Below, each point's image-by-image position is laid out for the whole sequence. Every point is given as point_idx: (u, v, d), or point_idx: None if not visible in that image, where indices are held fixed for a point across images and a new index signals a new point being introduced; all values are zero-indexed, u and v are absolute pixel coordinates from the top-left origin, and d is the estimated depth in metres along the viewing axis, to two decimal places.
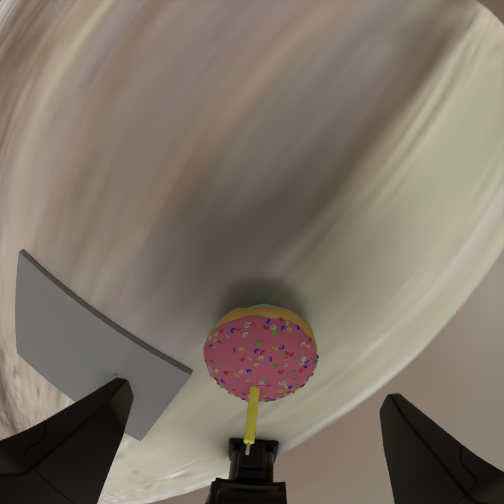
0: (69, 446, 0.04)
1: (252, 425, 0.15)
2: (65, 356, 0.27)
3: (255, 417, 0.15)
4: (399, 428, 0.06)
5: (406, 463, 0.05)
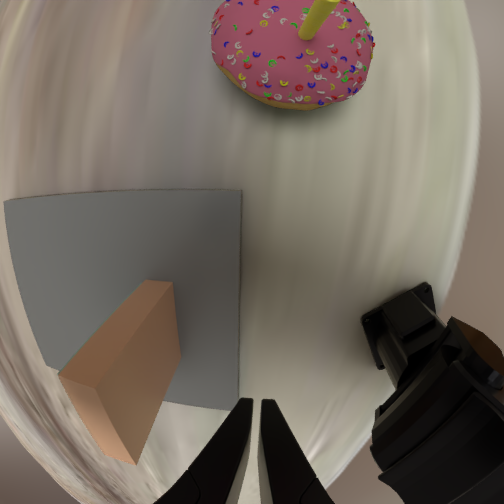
0: (232, 492, 0.04)
1: None
2: (82, 310, 0.21)
3: None
4: (260, 438, 0.06)
5: (261, 478, 0.05)
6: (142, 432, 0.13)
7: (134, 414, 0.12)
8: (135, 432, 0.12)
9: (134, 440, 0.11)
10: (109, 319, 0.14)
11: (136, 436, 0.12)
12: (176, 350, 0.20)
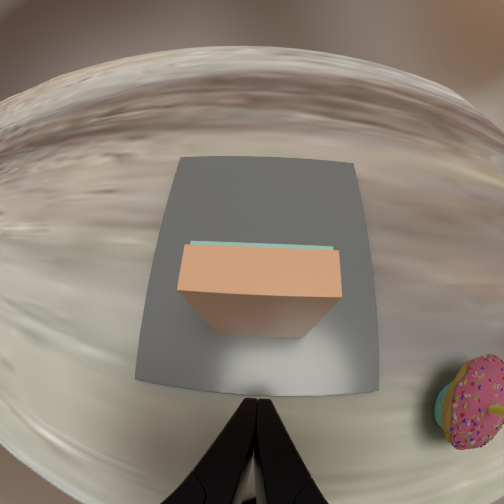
0: (237, 492, 0.04)
1: None
2: (261, 232, 0.25)
3: None
4: (255, 438, 0.06)
5: (256, 478, 0.05)
6: (208, 304, 0.13)
7: (247, 306, 0.13)
8: (223, 302, 0.13)
9: (216, 299, 0.12)
10: None
11: (216, 301, 0.13)
12: (232, 333, 0.20)
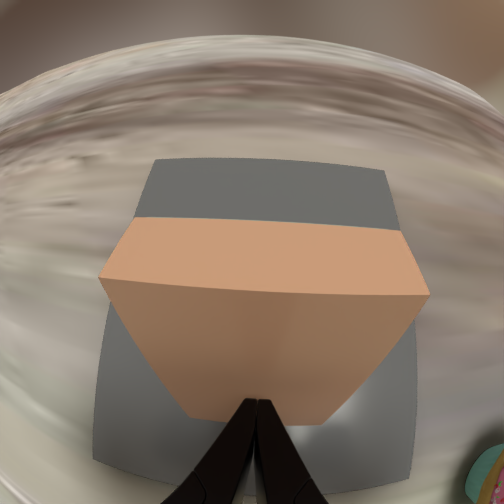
0: (237, 492, 0.04)
1: None
2: None
3: None
4: (255, 438, 0.06)
5: (256, 478, 0.05)
6: (162, 336, 0.06)
7: (237, 343, 0.06)
8: (189, 326, 0.06)
9: (174, 314, 0.06)
10: None
11: (176, 323, 0.06)
12: (214, 417, 0.12)
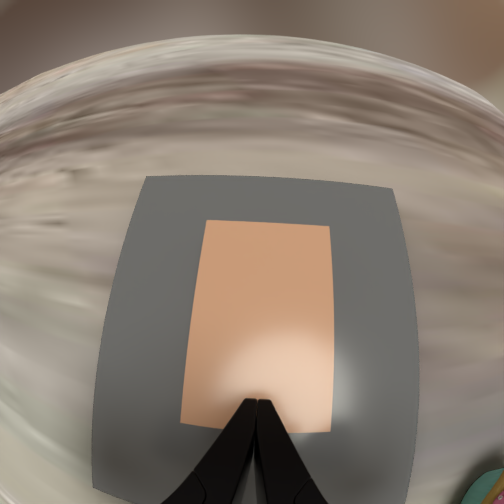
0: (237, 492, 0.04)
1: None
2: None
3: None
4: (255, 438, 0.06)
5: (256, 478, 0.05)
6: (219, 252, 0.15)
7: (255, 253, 0.15)
8: (236, 243, 0.15)
9: (231, 236, 0.15)
10: None
11: (230, 241, 0.15)
12: (211, 410, 0.11)
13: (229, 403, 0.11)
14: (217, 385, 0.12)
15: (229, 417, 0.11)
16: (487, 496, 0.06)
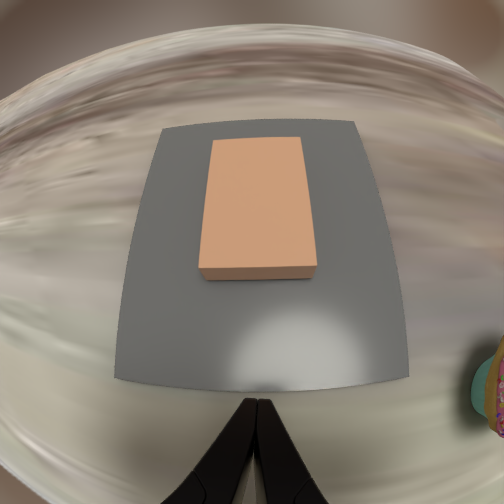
0: (237, 492, 0.04)
1: None
2: None
3: None
4: (255, 438, 0.06)
5: (256, 478, 0.05)
6: (223, 156, 0.20)
7: (248, 154, 0.20)
8: (235, 150, 0.20)
9: (231, 147, 0.20)
10: None
11: (231, 150, 0.20)
12: (222, 254, 0.17)
13: (236, 246, 0.17)
14: (226, 235, 0.17)
15: (236, 257, 0.16)
16: (492, 363, 0.11)
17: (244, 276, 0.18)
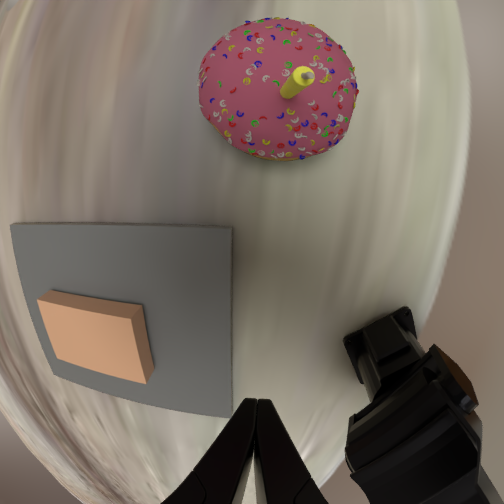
0: (237, 492, 0.04)
1: None
2: None
3: None
4: (255, 437, 0.06)
5: (256, 478, 0.05)
6: (67, 355, 0.21)
7: (61, 339, 0.21)
8: (60, 347, 0.21)
9: (58, 348, 0.21)
10: (86, 297, 0.21)
11: (61, 349, 0.21)
12: (134, 370, 0.21)
13: (127, 363, 0.20)
14: (121, 366, 0.21)
15: (135, 364, 0.20)
16: None
17: (147, 351, 0.22)
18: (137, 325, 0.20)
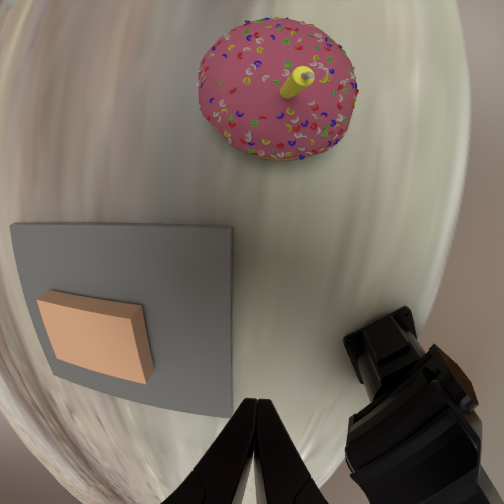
0: (237, 492, 0.04)
1: None
2: None
3: None
4: (255, 438, 0.06)
5: (256, 478, 0.05)
6: (67, 355, 0.21)
7: (61, 340, 0.21)
8: (60, 347, 0.21)
9: (58, 348, 0.21)
10: (86, 297, 0.21)
11: (61, 349, 0.21)
12: (134, 371, 0.21)
13: (127, 363, 0.20)
14: (121, 366, 0.21)
15: (134, 364, 0.20)
16: None
17: (147, 352, 0.22)
18: (137, 325, 0.20)
